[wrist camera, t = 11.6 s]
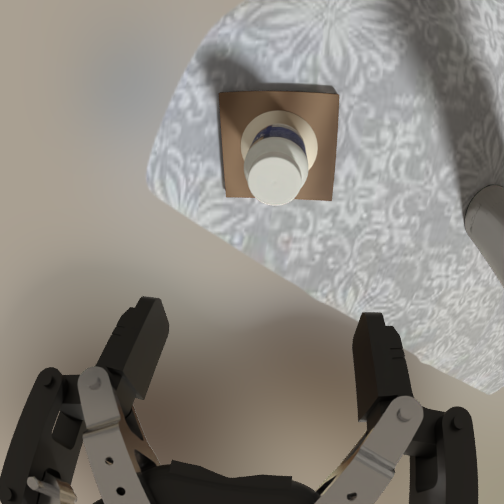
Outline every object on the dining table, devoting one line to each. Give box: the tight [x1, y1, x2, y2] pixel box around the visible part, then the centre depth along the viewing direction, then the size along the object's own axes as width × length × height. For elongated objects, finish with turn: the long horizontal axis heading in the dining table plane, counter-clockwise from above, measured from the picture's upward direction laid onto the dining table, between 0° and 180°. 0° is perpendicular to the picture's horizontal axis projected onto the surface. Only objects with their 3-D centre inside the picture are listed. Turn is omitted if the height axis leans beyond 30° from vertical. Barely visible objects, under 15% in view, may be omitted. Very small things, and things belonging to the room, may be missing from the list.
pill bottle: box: [244, 123, 308, 206], centre depth 25 cm, size 5×5×10 cm
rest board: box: [219, 91, 339, 201], centre depth 29 cm, size 12×12×1 cm
